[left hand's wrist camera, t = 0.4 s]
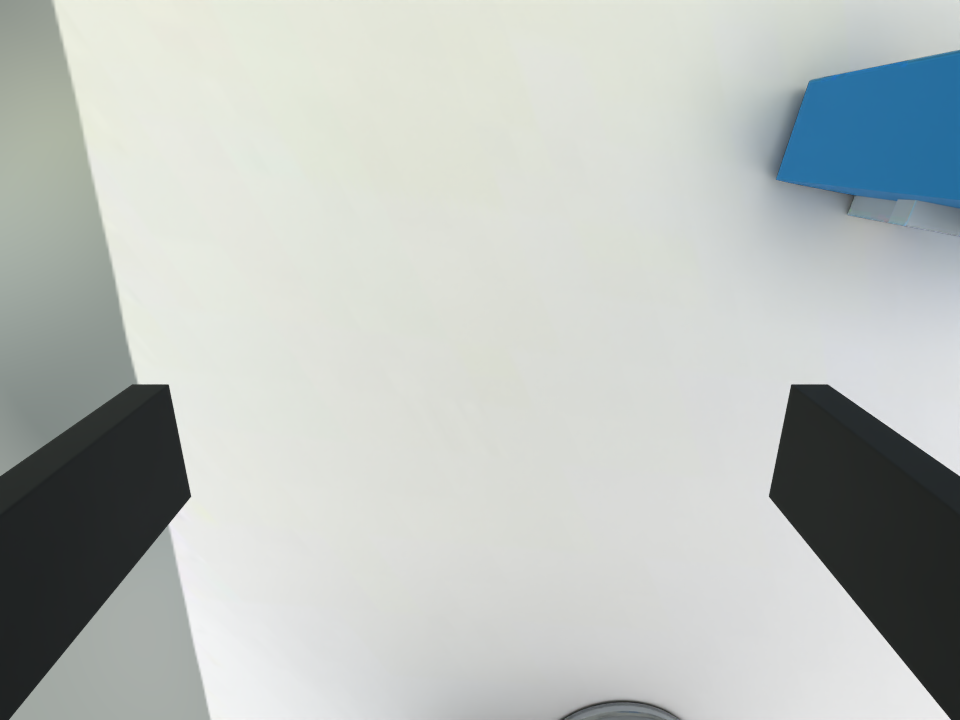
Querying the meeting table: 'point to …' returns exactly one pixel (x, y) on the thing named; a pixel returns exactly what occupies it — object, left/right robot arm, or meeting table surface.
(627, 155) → the meeting table surface
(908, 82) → the logo
